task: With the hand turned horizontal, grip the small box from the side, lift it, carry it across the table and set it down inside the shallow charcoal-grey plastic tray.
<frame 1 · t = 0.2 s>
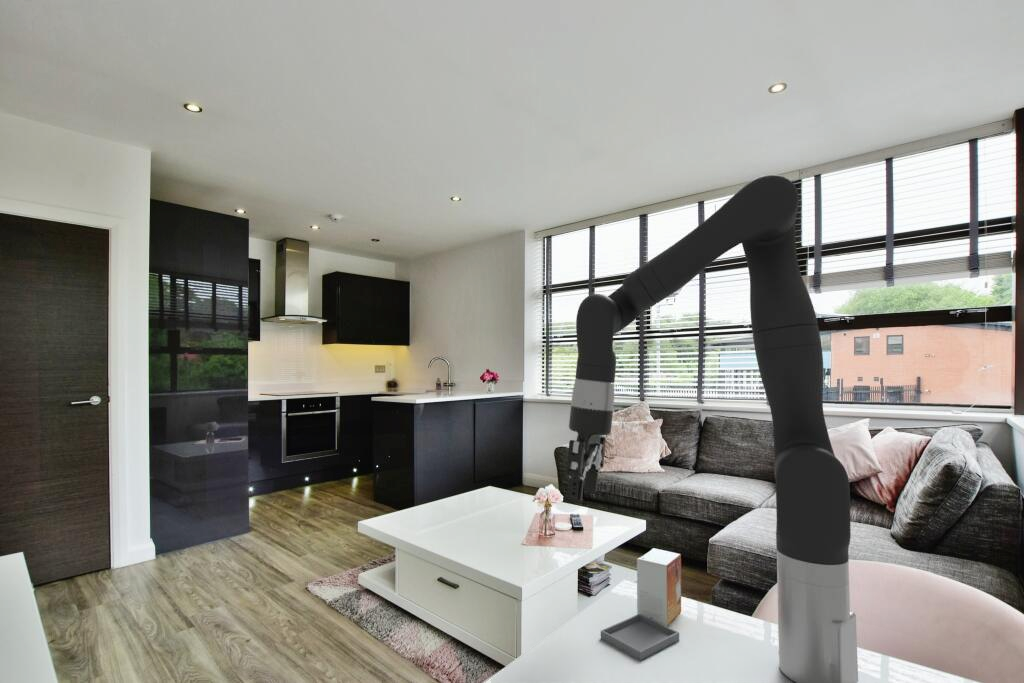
hand: (582, 496, 89), 22 cm above the table, tool pointing down, fingers open, 8 cm apart
small box: (659, 616, 91), on the table
tray: (639, 639, 83), on the table
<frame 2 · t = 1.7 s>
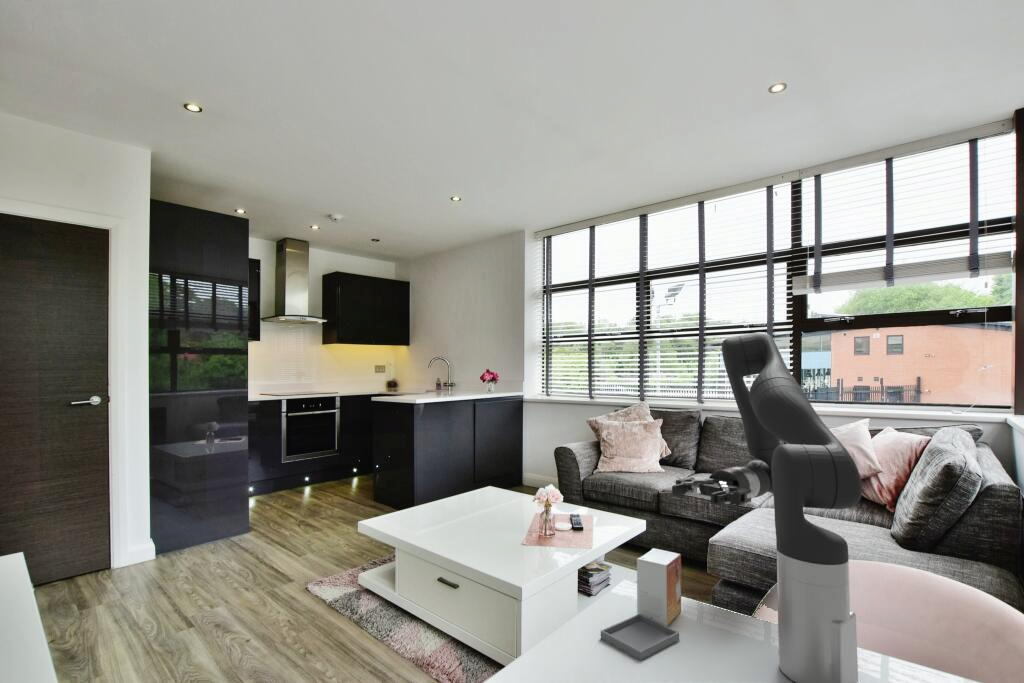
hand: (692, 495, 100), 20 cm above the table, tool horizontal, fingers open, 8 cm apart
nothing on the table moved.
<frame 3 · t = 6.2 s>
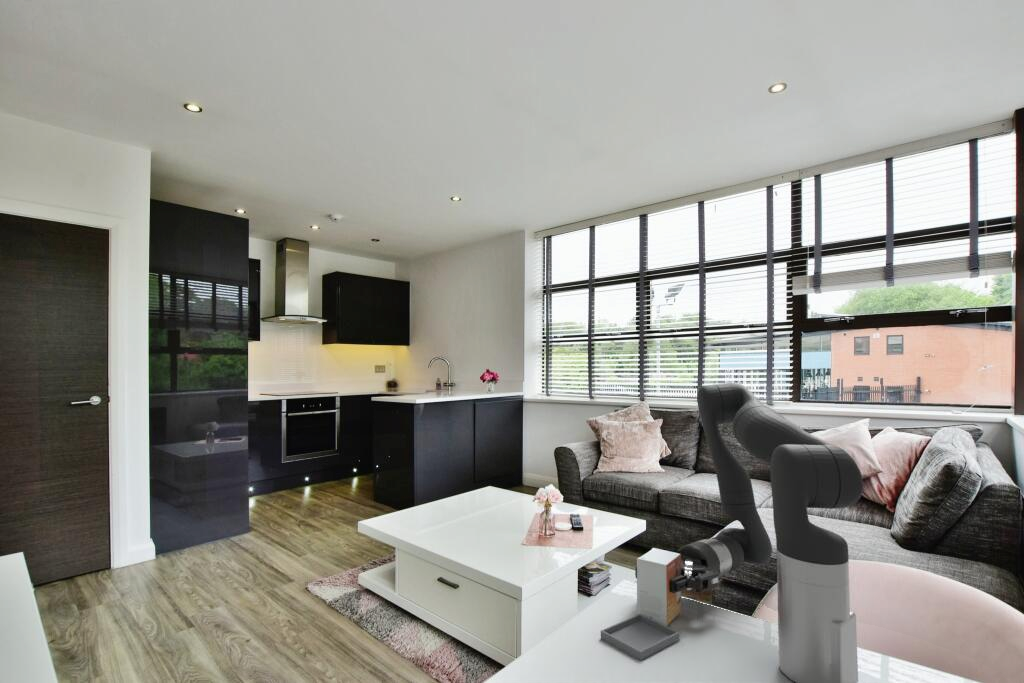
hand: (653, 579, 91), 7 cm above the table, tool horizontal, fingers closed on small box, 7 cm apart
small box: (659, 616, 91), on the table, touching gripper
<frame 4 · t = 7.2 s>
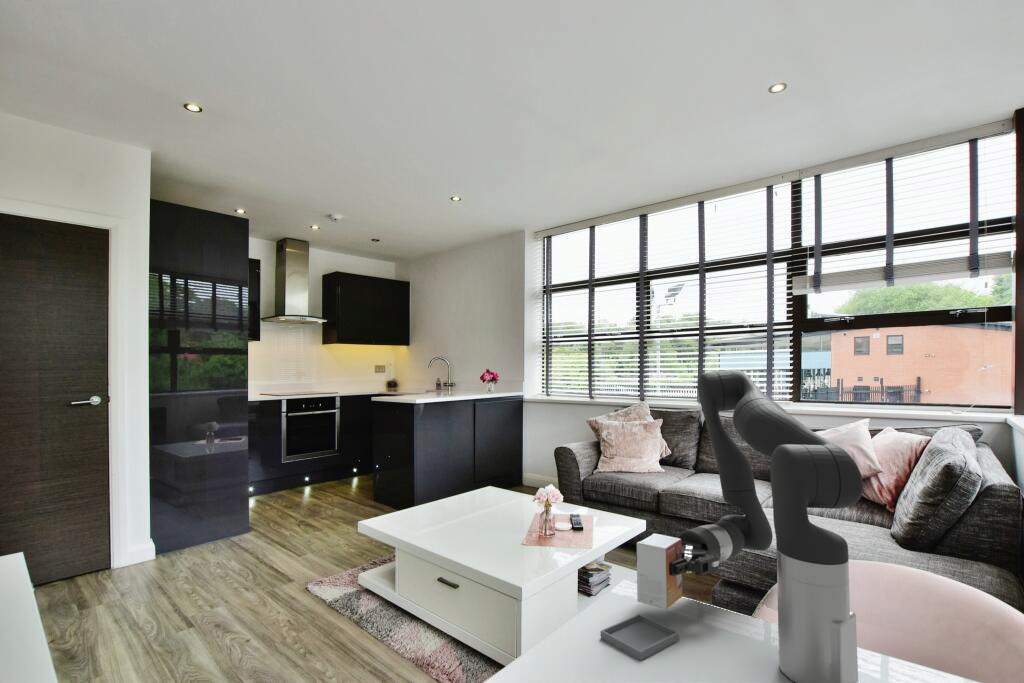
hand: (653, 563, 91), 10 cm above the table, tool horizontal, fingers closed on small box, 6 cm apart
small box: (660, 600, 91), point 3 cm above the table, touching gripper
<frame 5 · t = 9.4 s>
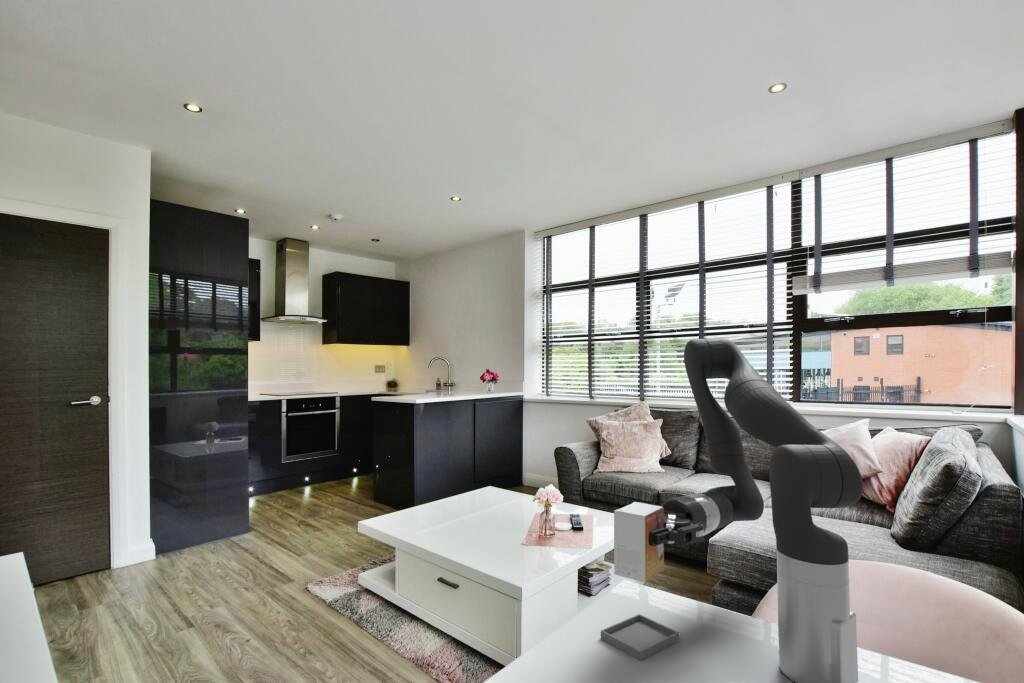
hand: (632, 533, 83), 17 cm above the table, tool horizontal, fingers closed on small box, 6 cm apart
small box: (639, 573, 84), point 10 cm above the table, touching gripper
when the fingers open (8 cm above the table, at t = 11.5 s): small box drops 1 cm, resting on tray.
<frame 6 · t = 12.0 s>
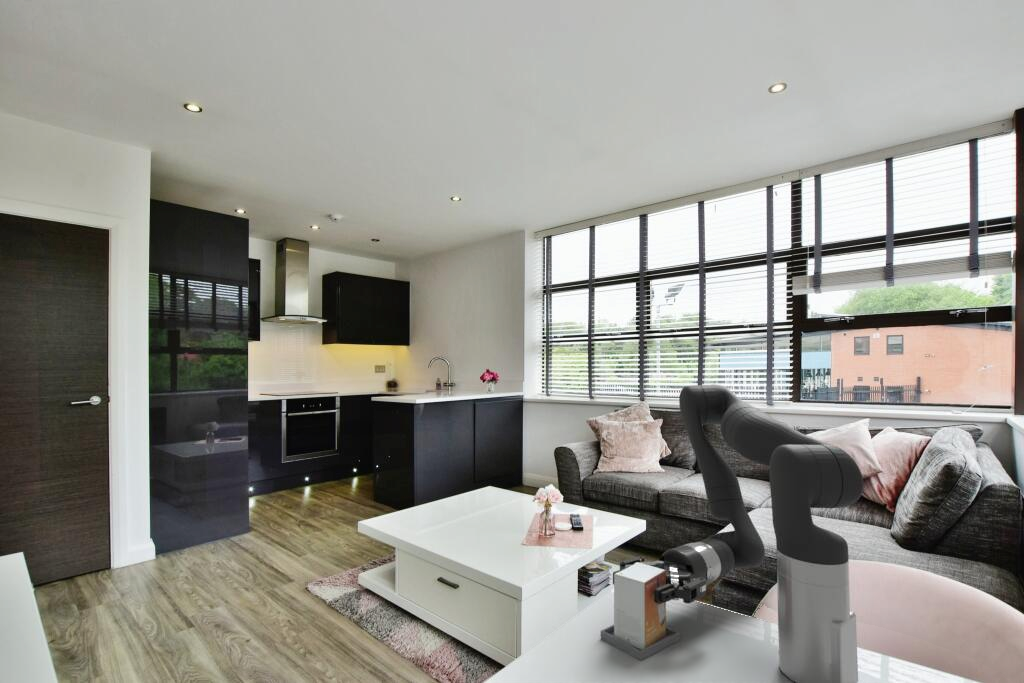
hand: (634, 587, 82), 8 cm above the table, tool horizontal, fingers open, 8 cm apart
small box: (640, 638, 83), resting on tray
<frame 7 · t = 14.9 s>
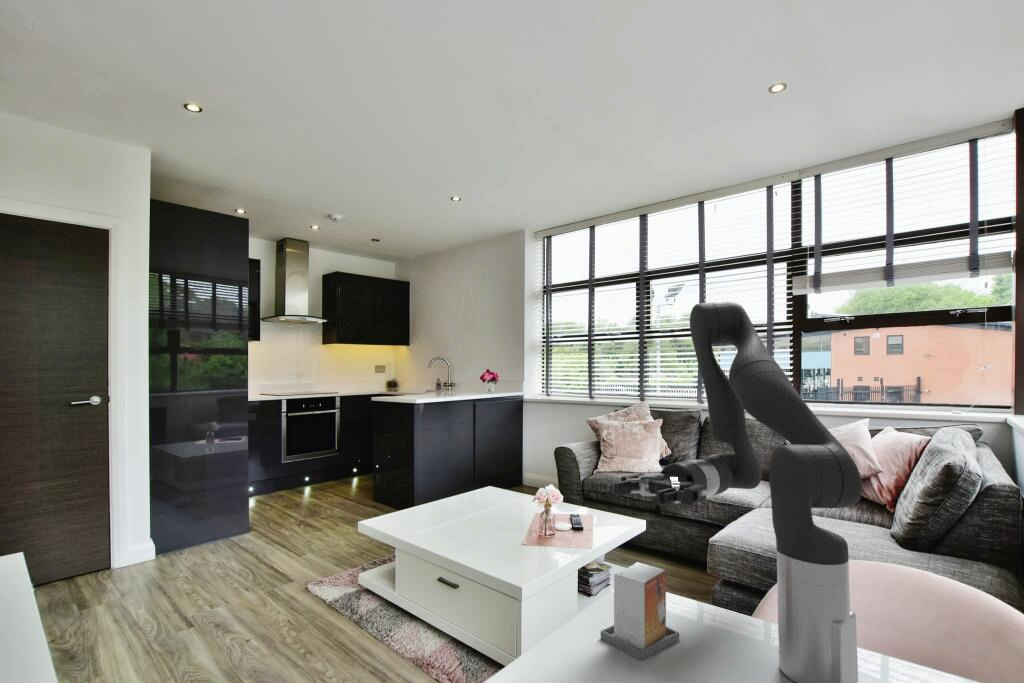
hand: (636, 494, 83), 24 cm above the table, tool horizontal, fingers open, 8 cm apart
nothing on the table moved.
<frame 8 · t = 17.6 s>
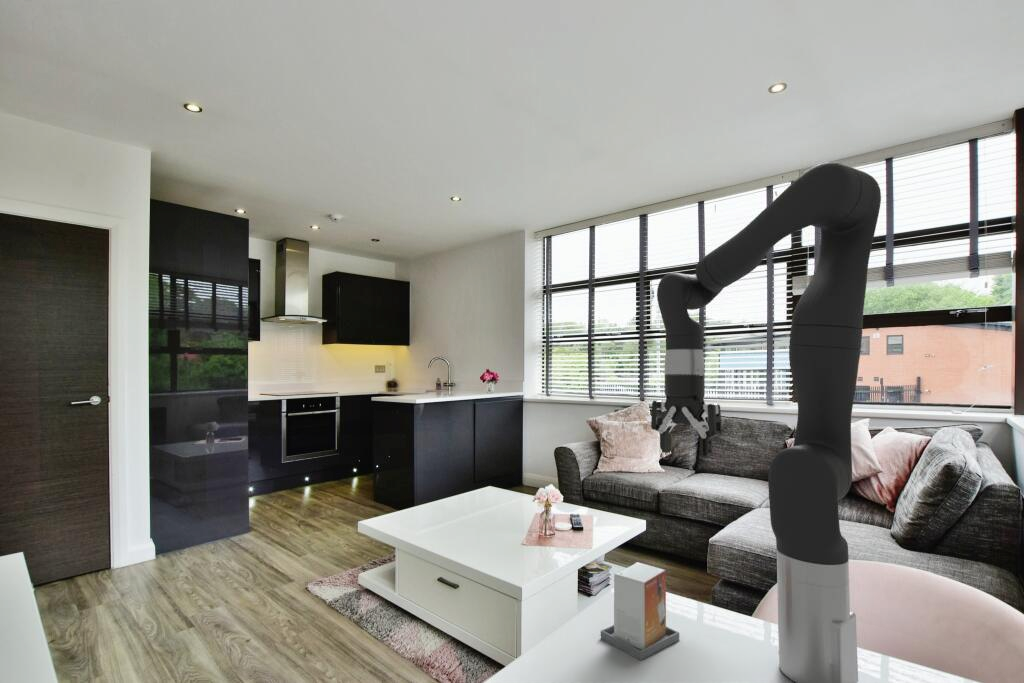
hand: (685, 455, 99), 28 cm above the table, tool pointing down, fingers open, 8 cm apart
nothing on the table moved.
at the end: small box 0.1 cm off-centre on the tray, point 0.1 cm above the tray's base; small box tilted 0°; the gripper is holding nothing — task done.
